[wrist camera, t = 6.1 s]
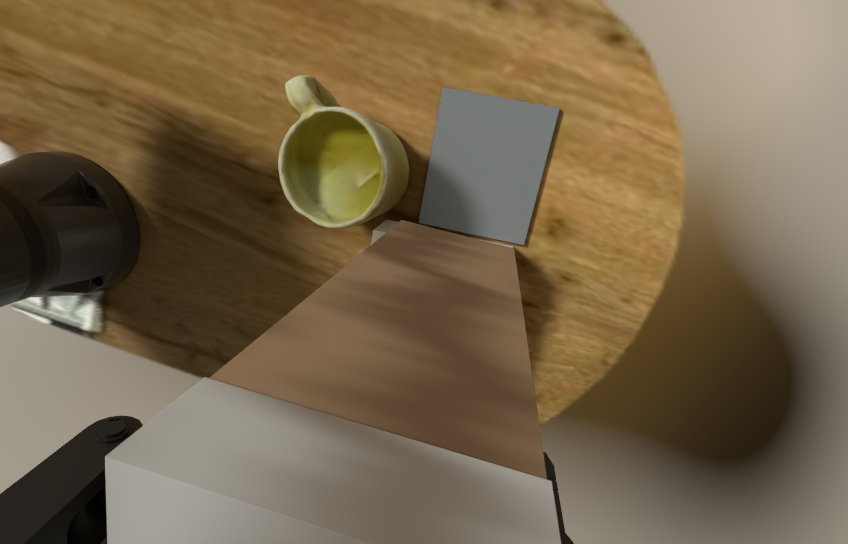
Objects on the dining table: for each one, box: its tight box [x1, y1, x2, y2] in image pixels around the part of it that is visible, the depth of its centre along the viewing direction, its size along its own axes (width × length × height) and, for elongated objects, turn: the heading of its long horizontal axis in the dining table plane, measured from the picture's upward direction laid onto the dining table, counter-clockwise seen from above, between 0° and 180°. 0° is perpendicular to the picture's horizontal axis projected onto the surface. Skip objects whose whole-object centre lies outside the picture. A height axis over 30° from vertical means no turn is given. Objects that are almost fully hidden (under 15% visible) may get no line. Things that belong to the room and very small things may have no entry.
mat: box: [418, 87, 560, 245], centre depth 38 cm, size 10×12×1 cm
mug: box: [278, 75, 409, 228], centre depth 36 cm, size 12×10×10 cm
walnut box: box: [105, 220, 561, 544], centre depth 15 cm, size 6×9×18 cm
